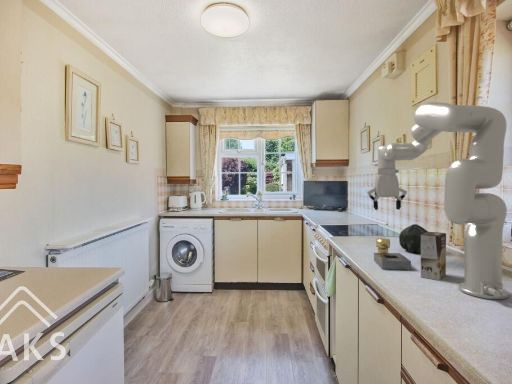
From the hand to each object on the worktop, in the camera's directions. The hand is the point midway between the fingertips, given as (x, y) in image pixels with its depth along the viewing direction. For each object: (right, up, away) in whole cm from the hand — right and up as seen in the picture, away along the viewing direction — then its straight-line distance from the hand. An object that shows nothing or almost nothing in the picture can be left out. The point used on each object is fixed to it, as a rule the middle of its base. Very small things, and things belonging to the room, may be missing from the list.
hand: (387, 209), depth 139 cm
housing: (-3, -23, -11) cm, 26 cm away
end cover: (-1, -23, +2) cm, 23 cm away
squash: (+20, -22, +12) cm, 32 cm away
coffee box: (+6, -24, -27) cm, 36 cm away
